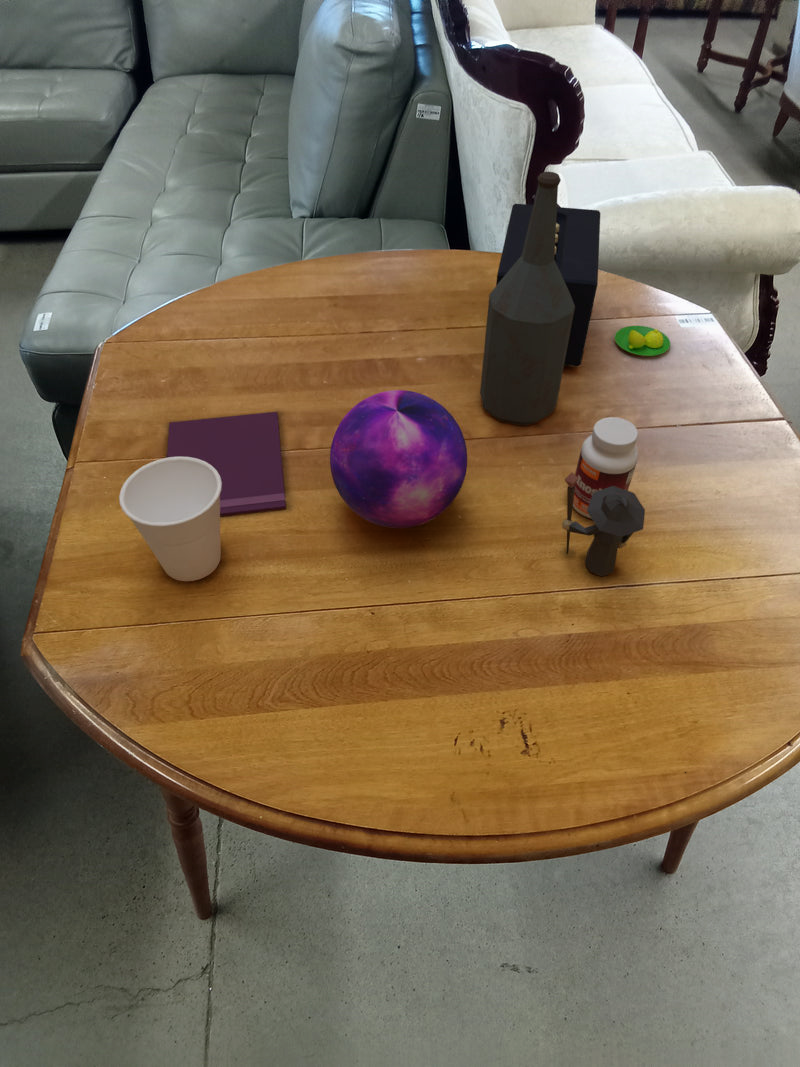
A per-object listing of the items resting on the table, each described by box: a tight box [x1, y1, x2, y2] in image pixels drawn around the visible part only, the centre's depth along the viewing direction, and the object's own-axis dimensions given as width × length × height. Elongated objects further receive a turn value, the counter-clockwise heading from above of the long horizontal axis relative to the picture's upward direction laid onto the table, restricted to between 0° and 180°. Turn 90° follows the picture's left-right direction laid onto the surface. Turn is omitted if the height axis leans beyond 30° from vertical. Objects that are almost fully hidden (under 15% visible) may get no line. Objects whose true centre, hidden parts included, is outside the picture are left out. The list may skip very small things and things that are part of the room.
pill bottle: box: [573, 416, 639, 520], centre depth 85 cm, size 6×6×11 cm
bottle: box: [479, 171, 575, 426], centre depth 91 cm, size 10×10×30 cm
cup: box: [118, 456, 222, 582], centre depth 78 cm, size 10×10×11 cm
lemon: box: [614, 325, 671, 357], centre depth 111 cm, size 8×8×3 cm
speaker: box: [495, 203, 601, 368], centre depth 109 cm, size 22×13×15 cm, turn 169°
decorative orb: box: [329, 389, 468, 529], centre depth 83 cm, size 15×15×15 cm
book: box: [166, 411, 287, 517], centre depth 93 cm, size 14×18×1 cm
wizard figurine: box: [561, 471, 646, 577], centre depth 78 cm, size 8×6×12 cm
